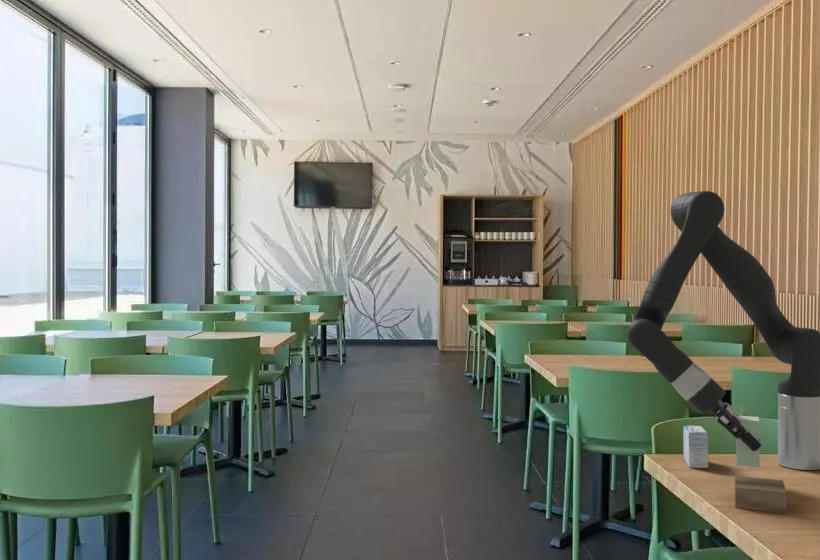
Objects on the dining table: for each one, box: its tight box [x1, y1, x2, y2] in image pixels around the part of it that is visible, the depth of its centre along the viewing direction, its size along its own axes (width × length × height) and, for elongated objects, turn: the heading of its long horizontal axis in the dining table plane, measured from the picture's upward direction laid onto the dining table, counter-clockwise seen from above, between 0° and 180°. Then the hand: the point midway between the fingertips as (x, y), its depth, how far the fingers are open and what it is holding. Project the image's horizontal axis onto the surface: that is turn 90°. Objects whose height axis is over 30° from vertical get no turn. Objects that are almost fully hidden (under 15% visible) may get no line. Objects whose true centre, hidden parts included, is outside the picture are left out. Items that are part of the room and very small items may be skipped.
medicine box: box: [682, 425, 709, 469], centre depth 176 cm, size 8×4×9 cm, turn 168°
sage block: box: [735, 415, 761, 468], centre depth 158 cm, size 4×4×10 cm
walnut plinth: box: [734, 475, 787, 514], centre depth 146 cm, size 9×9×4 cm
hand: (757, 445), depth 158 cm, fingers closed on sage block, 4 cm apart
